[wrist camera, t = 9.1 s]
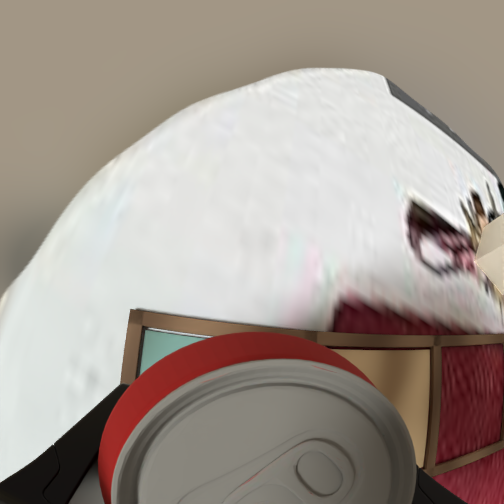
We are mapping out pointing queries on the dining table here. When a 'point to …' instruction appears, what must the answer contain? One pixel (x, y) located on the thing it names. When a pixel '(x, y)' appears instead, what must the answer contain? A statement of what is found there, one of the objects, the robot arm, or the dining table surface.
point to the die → (492, 252)
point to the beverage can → (255, 429)
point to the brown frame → (368, 361)
